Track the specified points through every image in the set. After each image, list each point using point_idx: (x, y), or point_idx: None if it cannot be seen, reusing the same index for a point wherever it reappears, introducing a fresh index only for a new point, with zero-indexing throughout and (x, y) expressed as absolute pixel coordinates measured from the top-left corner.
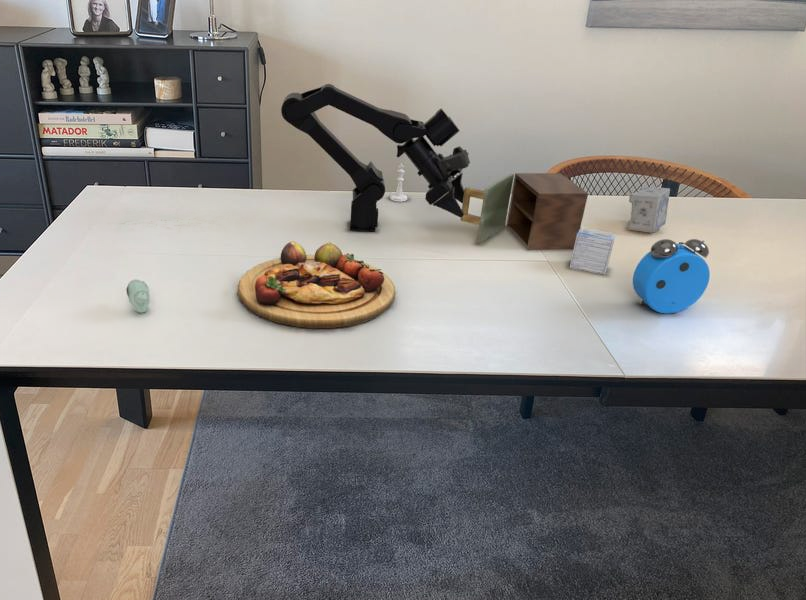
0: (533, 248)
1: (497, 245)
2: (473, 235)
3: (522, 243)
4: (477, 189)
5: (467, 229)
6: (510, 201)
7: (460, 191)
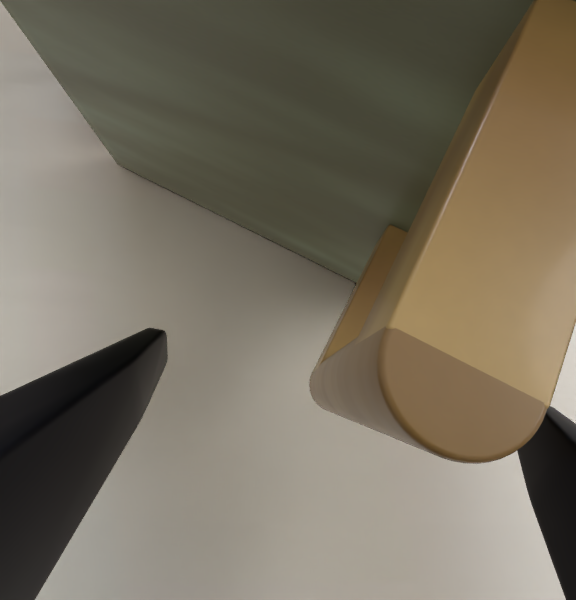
0: None
1: None
2: (277, 316)
3: None
4: (475, 158)
5: (188, 345)
6: None
7: (40, 466)
